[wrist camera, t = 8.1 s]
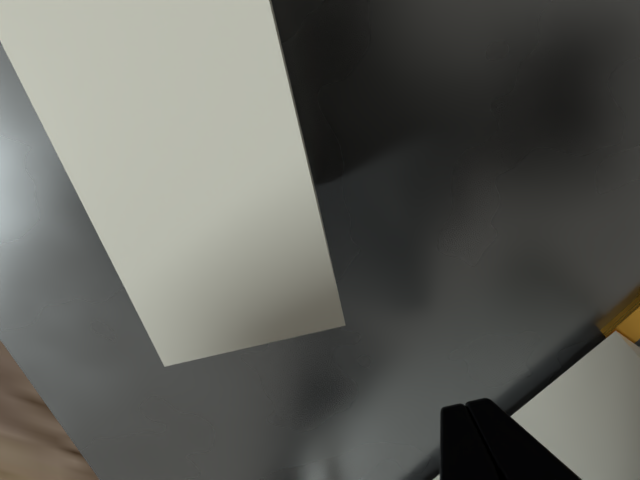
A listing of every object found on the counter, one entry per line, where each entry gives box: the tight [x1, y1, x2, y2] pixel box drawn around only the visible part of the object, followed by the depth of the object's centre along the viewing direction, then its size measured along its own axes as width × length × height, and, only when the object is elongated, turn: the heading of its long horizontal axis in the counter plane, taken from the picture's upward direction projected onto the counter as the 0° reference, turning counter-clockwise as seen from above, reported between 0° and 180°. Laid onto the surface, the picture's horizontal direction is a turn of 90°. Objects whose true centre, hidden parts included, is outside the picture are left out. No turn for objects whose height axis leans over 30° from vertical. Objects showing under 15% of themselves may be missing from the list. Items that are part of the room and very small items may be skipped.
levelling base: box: [0, 0, 640, 480], centre depth 9 cm, size 23×13×3 cm, turn 12°
